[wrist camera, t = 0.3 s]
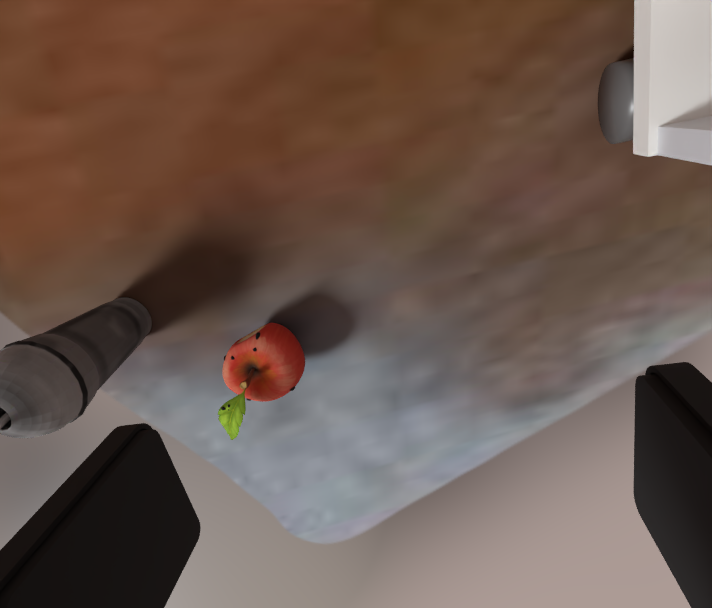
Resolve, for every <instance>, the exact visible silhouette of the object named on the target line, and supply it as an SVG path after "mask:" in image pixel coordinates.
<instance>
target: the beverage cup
mask: <svg viewBox="0 0 712 608" xmlns="http://www.w3.org/2000/svg"><path fill="white" fill-rule="evenodd" d="M151 327H152V320H151V316H150V314H149V312H148V311H147V309H146V308H145V307H144V306H143V305H142V304H141V303H139V302H138V301H136V300H134V299H131V298H118V299H115V300H113V301H111V302H108V303H105V304H103V305H101V306H99V307H96V308H94V309H92V310H90V311H88V312H86V313H84V314H82V315H80V316H78V317H76V318H74V319H71V320H69V321H67V322H65V323H63V324H61V325H59V326H57V327H55V328H53V329H51V330H49V331H46V332H44V333H42V334H39V335H36V336H33V337H30V338H27V339H24V340H22V341H17V342H14V343H11V344H8V345H6V346H5V347H4V348H3V349H2V350H1V351H0V434H2V435H6V436H9V437H15V438H33V437H38V436H42V435H45V434H49V433H52V432H54V431H57V430H58V429H61V428H62V427H64V426H65V425H66V424H68V423H71V422H73V421H74V420H76V419H77V418H78V417H79V416H81V415H82V414H83V412H84V411H85V409H86V407H87V406H88V404H89V403H90V402H91V400H92V399H93V397H94V396H95V394H96V392H97V390H98V389H99V388H100V387H101V386H102V385H103V384H104V383H105V382H106V381H107V379H108V378H109V377H110V376H111V375H112V374H113V373H114V372H115V371H116V370H117V369H118V367H119V366H120V365H121V364H122V363H123V362H124V361H125V360H126V359H127V358H128V357H129V356H130V354H131V353H132V352H133V351H134V350H135V349H136V348H137V347H138V346H139V345H140V344H141V342H142V341H143V339H144V338H145V337H146V335H148V334H149V332H150V330H151Z"/></svg>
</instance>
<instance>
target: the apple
mask: <svg viewBox="0 0 712 608" xmlns="http://www.w3.org/2000/svg"><path fill="white" fill-rule="evenodd" d="M304 367H305V357H304V353H303V350H302V347H301V345H300V343H299V342H298V340H297V339H296V337H295V336H294V335H293V333H292V332H291V331H290V330H288V329H287V328H286V327H284V326H282V325H280V324H277V323H268V324H266V325H264V326H262V327H260V328H259V329H257V330H255V331H253V332H252V333H250V334H248V335H247V336H245V337H243V338H241V339H240V340H238V341H237V342H236V343H234V344H233V345H232V347H231V348H230V349H229V351H228V353H227V355H226V356H225V357H224V365H223V378H224V381H225V383H226V385H227V386H228V387H229V388H230V389H231V390H232V391H233V392H235V393H236V394H238V396H236V397H234V398H233V399H231V400H229V401H228V402H226V403H225V404H224V405H223V406H222V407H221V408H220V409H219V412H218V415H220V416H219V421H220V423H221V424H222V426H223V427H224V428H225V430H226V431H227V433H228V434H229V436H230V438H231V440H233V439H234V438H236V437H237V435H238V432H239V427H240V426H241V423H242V420H243V414H244V415H245V398H247V400H255V401H272V400H275V399H278V398H280V397H282V396H284V395H285V394H287V393H288V392H290V391H293V390H294V389H295V386H296V384H297V383H298V382H299V380H300V378H301V376H302V374H303V371H304ZM242 413H243V414H242ZM238 425H239V426H238Z"/></svg>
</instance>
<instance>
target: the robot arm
mask: <svg viewBox="0 0 712 608" xmlns="http://www.w3.org/2000/svg"><path fill="white" fill-rule="evenodd" d="M634 499H635V503H636V506H637V509H638V512H639V514H640V516H641V518H642V520H643V521H644V523H645V525H646V527H647V528H648V530H649V532H650V534H651V536H652V538H653V539H654V541H655V543H656V545H657V546H658V548H659V550H660V552H661V554H662V556H663V557H664V559H665V561H666V563H667V565H668V566H669V568H670V570H671V572H672V574H673V575H674V577H675V578H676V581H677V583H678V584H679V586H680V588H681V590H682V592H683V593H684V595H685V597H686V599H687V600H688V602H689V604H690V606H691V608H712V382H710V381H709V380H708V379H707V378H706V377H705V376H704V375H703V374H702V373H700V371H698V370H697V369H696V368H695V367H694V366H693V365H691V364H689V363H687V362H682V363H673V364H664V365H655V366H650V367H648V368H647V370H646V375H642V376H638V377H637V379H636V384H635V442H634ZM199 535H200V522H199V519H198V517H197V515H196V513H195V511H194V509H193V507H192V504H191V502H190V500H189V498H188V496H187V493H186V491H185V489H184V487H183V485H182V483H181V480H180V478H179V476H178V474H177V472H176V469H175V467H174V465H173V463H172V461H171V458H170V456H169V454H168V452H167V450H166V448H165V445H164V443H163V441H162V439H161V437H160V435H159V433H158V432H157V431H156V430H153V429H152V428H151V426H149V425H148V424H144V423H143V424H134V425H125V426H119V427H117V428H115V429H114V430H113V431H112V432H111V433H110V434H109V435H108V436H107V437H106V438H105V439H104V441H103V442H102V443H101V444H100V445H99V446H98V447H97V448H96V449H95V450H94V451H93V452H92V453H91V455H89V457H88V458H87V459H86V460H85V461H84V462H83V463H82V464H81V465H80V466H79V467H78V468H77V469H76V470H75V472H74V473H73V474H72V475H71V476H70V477H69V478H68V479H67V480H66V481H65V482H64V483H63V484H62V485H61V486H60V487H59V488H58V490H57V491H56V492H55V493H54V494H53V495H52V496H51V497H50V498H49V499H48V500H47V501H46V502H45V503H44V505H43V506H42V507H41V508H40V509H39V510H38V511H37V512H36V513H35V514H34V515H33V516H32V517H31V518H30V519H29V521H28V522H27V523H26V524H25V525H24V526H23V527H22V528H21V529H20V530H19V531H18V532H17V533H16V534H15V535H14V537H13V538H12V539H11V540H10V541H9V542H8V543H7V544H6V545H5V546H4V547H3V548H2V549H1V550H0V608H164V607H165V605H166V603H167V601H168V599H169V597H170V595H171V593H172V591H173V589H174V587H175V585H176V583H177V581H178V579H179V577H180V575H181V573H182V571H183V569H184V567H185V565H186V563H187V561H188V559H189V557H190V555H191V553H192V551H193V549H194V547H195V545H196V543H197V541H198V539H199Z"/></svg>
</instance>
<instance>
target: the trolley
mask: <svg viewBox="0 0 712 608" xmlns="http://www.w3.org/2000/svg"><path fill="white" fill-rule="evenodd" d="M598 114H599V121H600V126H601V129H602V132H603V135H604V136H605V138H606V140H607V141H608V142H609V143H611V144H616V143H621V142H626V141H630V140H633V154H637V155H642V156H646V157H650V156H655V155H660V156H665V157H670V158H676V159H681V160H686V161H691V162H697V163H702V164H707V165H712V0H634V58H631V59H627V60H623V61H618V62H614V63H611V64H609V65H608V66H607V67H606V68H605V70H604V72H603V74H602V77H601V80H600V85H599V92H598Z"/></svg>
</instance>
